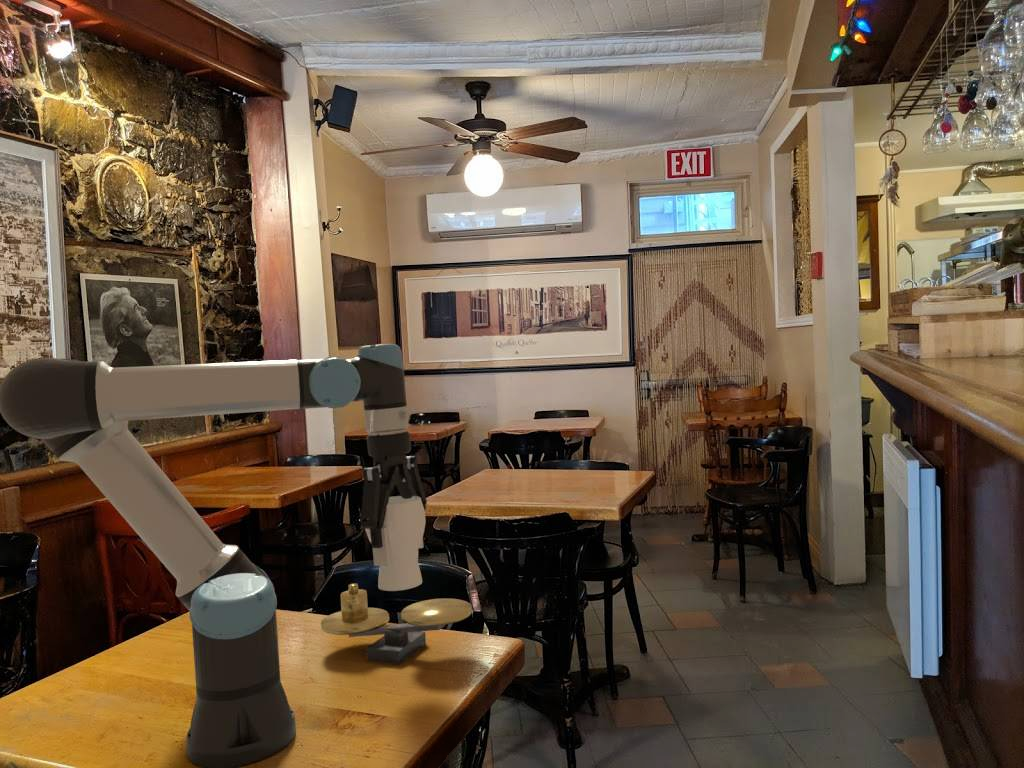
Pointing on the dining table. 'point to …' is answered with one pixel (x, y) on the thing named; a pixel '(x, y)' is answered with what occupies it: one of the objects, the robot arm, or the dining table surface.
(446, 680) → the dining table surface
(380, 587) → the cup
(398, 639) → the balance
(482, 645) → the dining table surface
